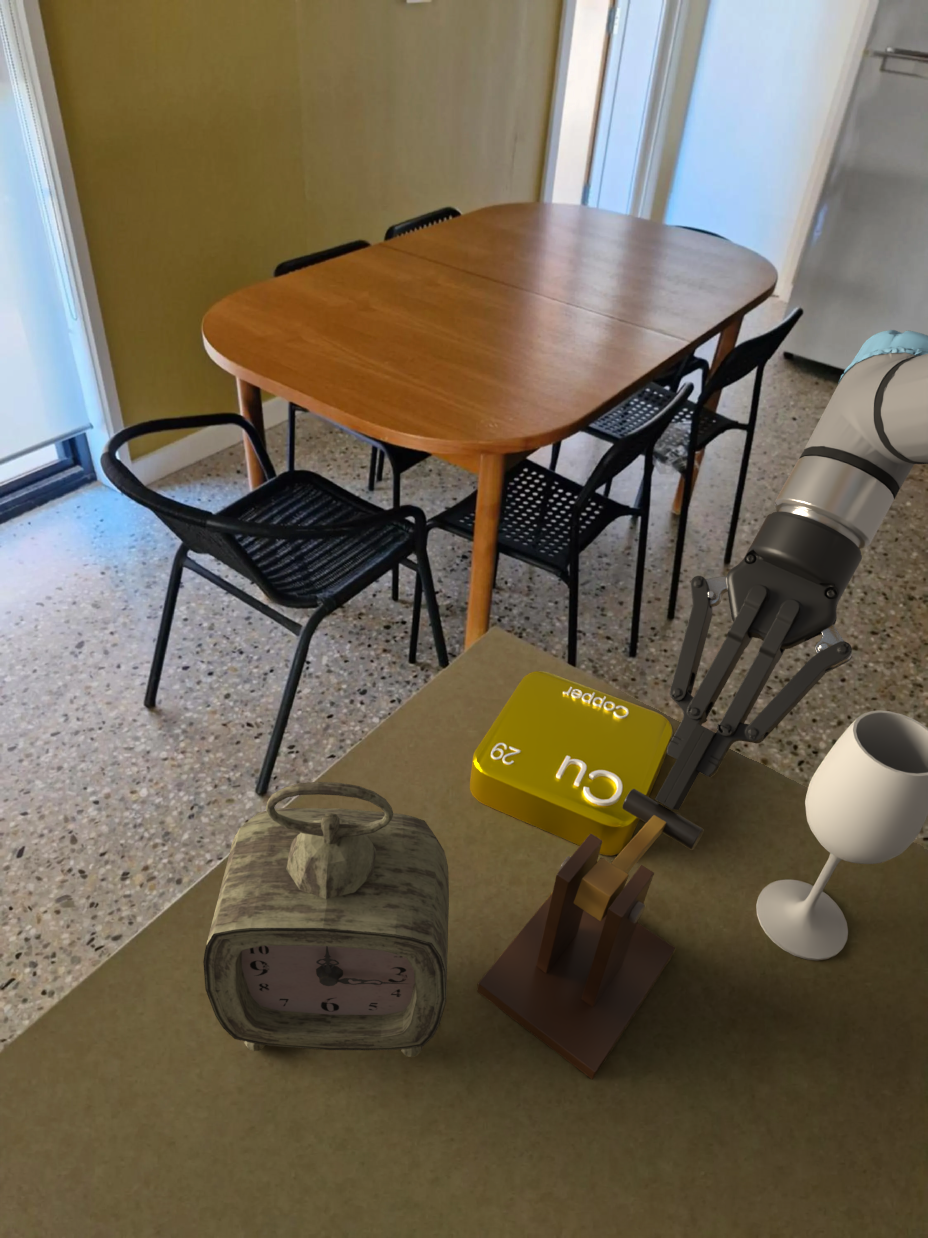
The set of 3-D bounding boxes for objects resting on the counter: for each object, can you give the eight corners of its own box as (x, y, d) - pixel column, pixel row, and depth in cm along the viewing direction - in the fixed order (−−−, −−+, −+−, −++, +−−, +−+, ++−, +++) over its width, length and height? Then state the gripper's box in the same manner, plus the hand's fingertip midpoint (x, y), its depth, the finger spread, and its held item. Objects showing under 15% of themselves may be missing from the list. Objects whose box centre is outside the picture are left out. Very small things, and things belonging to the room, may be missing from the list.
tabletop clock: (223, 1069, 60) (172, 842, 44) (249, 946, 67) (213, 712, 51) (437, 1078, 60) (462, 856, 45) (441, 955, 67) (463, 725, 52)
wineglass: (837, 980, 68) (950, 805, 55) (741, 930, 71) (827, 752, 58) (858, 908, 73) (967, 732, 60) (768, 864, 76) (853, 686, 63)
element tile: (668, 749, 86) (679, 714, 83) (620, 865, 75) (631, 830, 72) (526, 695, 90) (531, 660, 87) (461, 797, 79) (464, 761, 76)
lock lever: (628, 804, 70) (637, 781, 69) (697, 845, 68) (707, 822, 66) (549, 887, 61) (557, 862, 60) (625, 938, 58) (635, 913, 57)
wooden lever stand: (563, 884, 73) (588, 782, 65) (672, 956, 69) (713, 856, 61) (476, 991, 65) (492, 891, 57) (592, 1080, 61) (626, 985, 53)
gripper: (900, 578, 68) (751, 850, 68) (742, 513, 73) (604, 764, 73) (907, 551, 61) (741, 853, 61) (731, 482, 66) (580, 758, 67)
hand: (667, 804), depth 67 cm, fingers closed
